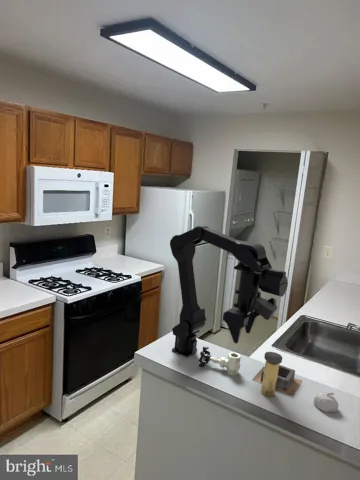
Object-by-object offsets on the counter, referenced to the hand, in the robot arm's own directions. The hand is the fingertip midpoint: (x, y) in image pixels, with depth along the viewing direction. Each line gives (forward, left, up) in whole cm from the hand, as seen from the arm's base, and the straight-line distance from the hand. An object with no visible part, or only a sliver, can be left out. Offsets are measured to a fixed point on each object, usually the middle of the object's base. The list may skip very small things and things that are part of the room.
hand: (242, 337), depth 103 cm
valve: (-5, -2, -12) cm, 14 cm away
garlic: (+25, 0, -12) cm, 28 cm away
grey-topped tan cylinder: (+11, -5, -12) cm, 17 cm away
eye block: (+11, +4, -12) cm, 17 cm away
